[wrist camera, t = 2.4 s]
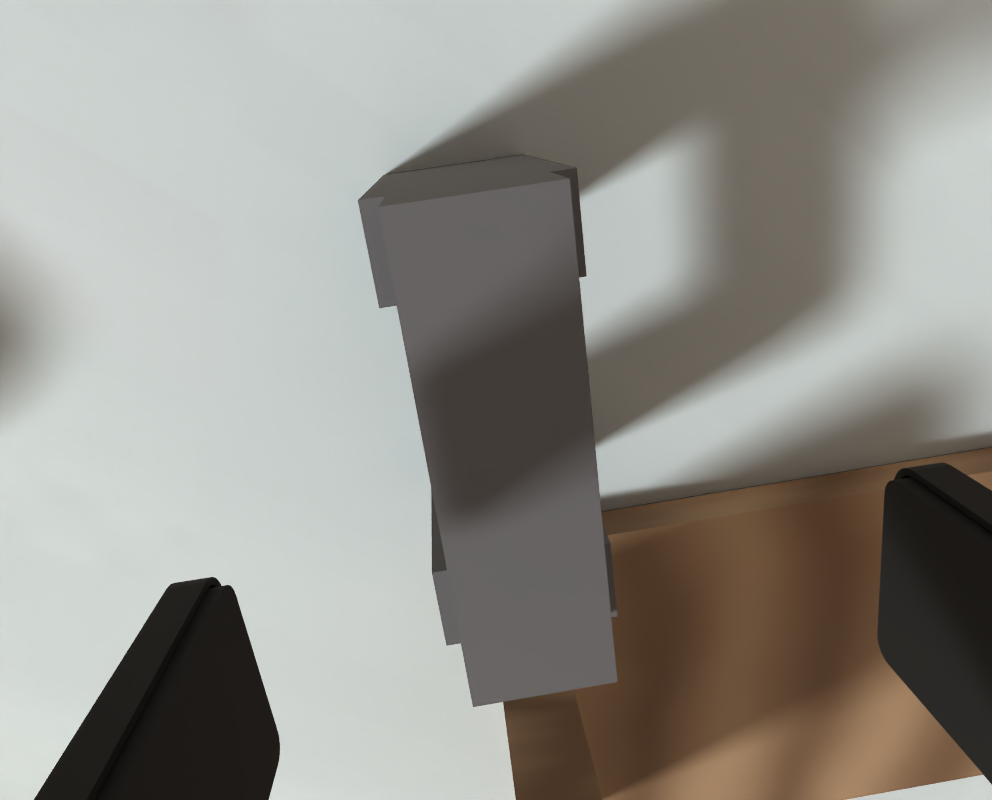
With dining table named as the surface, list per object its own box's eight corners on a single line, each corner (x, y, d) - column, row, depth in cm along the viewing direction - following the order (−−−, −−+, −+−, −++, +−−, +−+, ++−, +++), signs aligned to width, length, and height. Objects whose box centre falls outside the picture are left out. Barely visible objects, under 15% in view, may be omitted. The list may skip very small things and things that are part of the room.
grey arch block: (383, 174, 20) (345, 212, 11) (522, 154, 21) (601, 174, 11) (441, 485, 24) (448, 711, 15) (559, 466, 24) (641, 677, 15)
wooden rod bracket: (527, 822, 30) (605, 1364, 17) (479, 532, 25) (536, 982, 12) (1038, 730, 30) (1495, 1179, 17) (1092, 430, 25) (1792, 746, 12)
